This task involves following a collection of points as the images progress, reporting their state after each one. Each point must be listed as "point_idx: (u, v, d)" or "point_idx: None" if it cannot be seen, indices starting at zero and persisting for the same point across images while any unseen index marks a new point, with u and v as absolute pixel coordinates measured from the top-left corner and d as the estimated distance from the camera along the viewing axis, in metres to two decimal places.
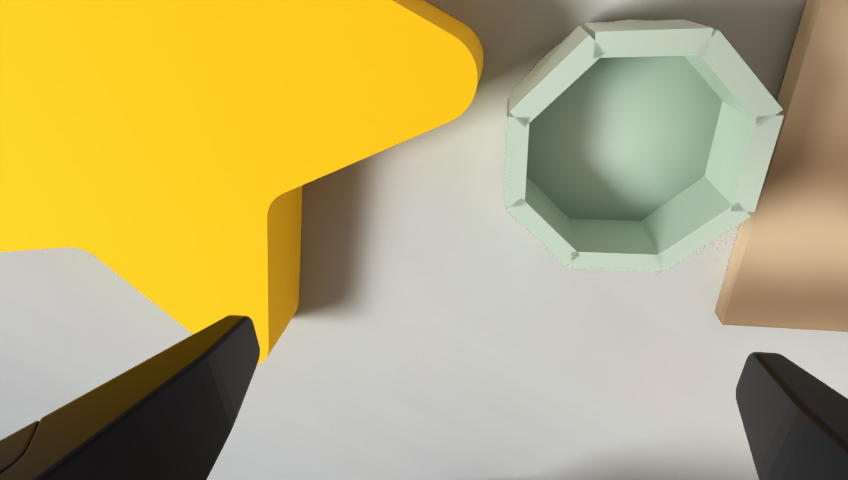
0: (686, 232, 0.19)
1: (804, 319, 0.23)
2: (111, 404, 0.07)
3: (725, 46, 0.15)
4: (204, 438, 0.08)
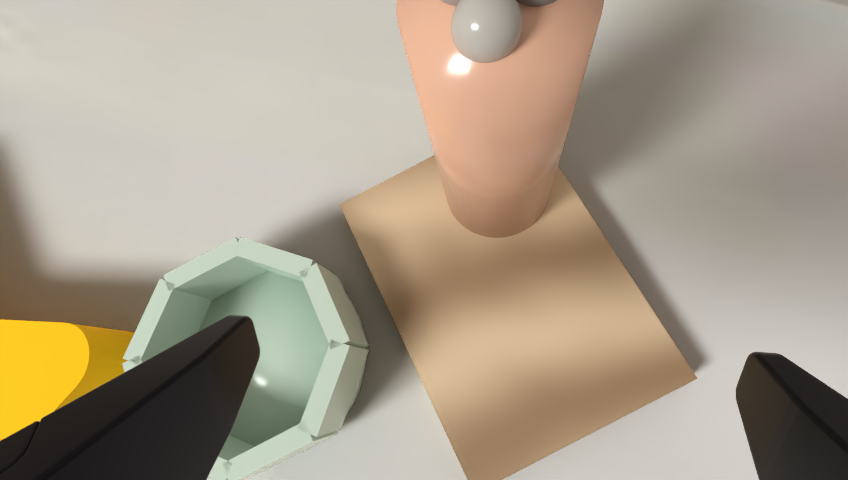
0: None
1: (542, 440, 0.20)
2: (111, 404, 0.07)
3: (249, 243, 0.21)
4: (204, 438, 0.08)
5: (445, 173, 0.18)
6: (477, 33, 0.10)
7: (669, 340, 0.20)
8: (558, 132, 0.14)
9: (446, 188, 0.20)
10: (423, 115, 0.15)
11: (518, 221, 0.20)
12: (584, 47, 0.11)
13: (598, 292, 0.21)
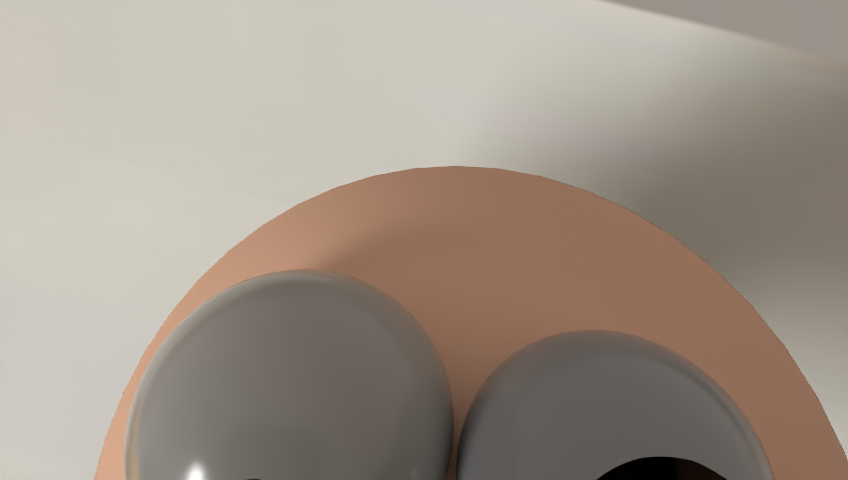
0: None
1: None
2: None
3: None
4: None
5: None
6: None
7: None
8: None
9: None
10: None
11: None
12: None
13: None
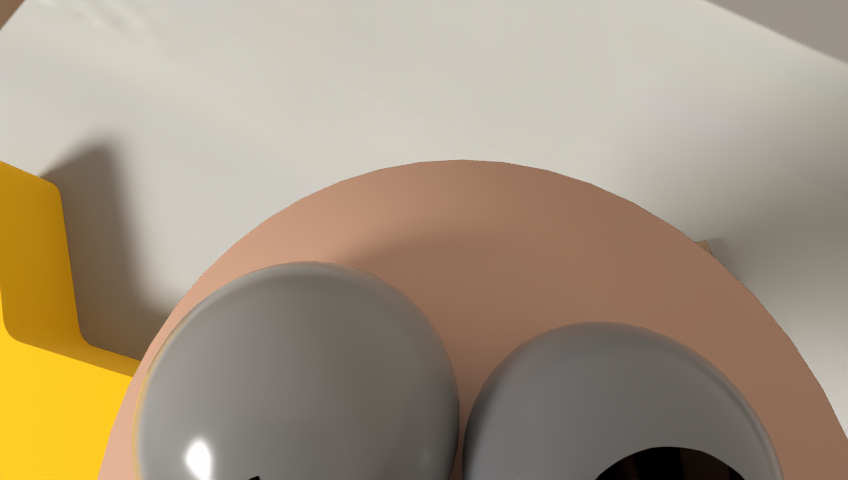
0: None
1: None
2: None
3: None
4: None
5: None
6: None
7: None
8: None
9: None
10: None
11: None
12: None
13: None
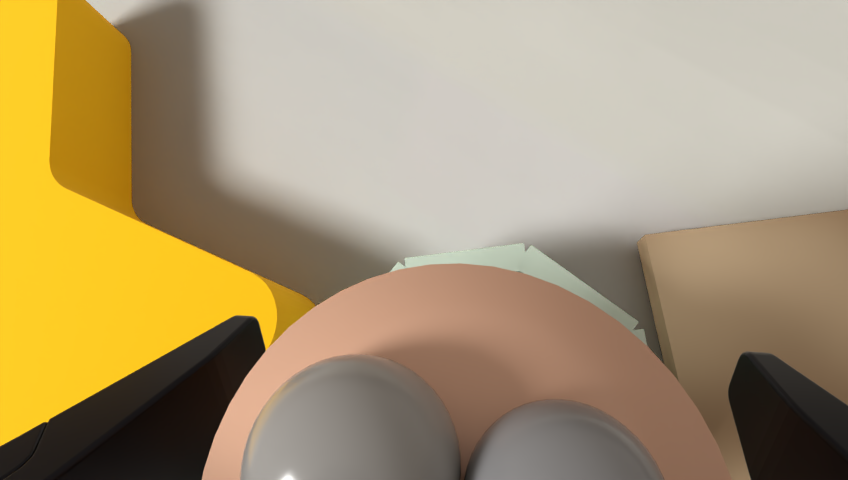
0: None
1: None
2: (119, 405, 0.07)
3: (543, 259, 0.14)
4: (211, 439, 0.08)
5: None
6: None
7: None
8: None
9: None
10: None
11: None
12: None
13: None
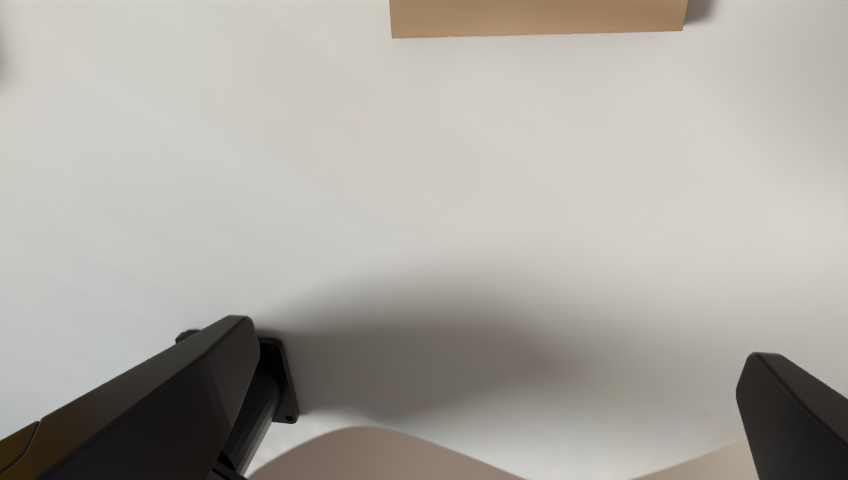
0: None
1: (484, 18, 0.17)
2: (111, 404, 0.07)
3: None
4: (204, 438, 0.08)
5: None
6: None
7: None
8: None
9: None
10: None
11: None
12: None
13: None
